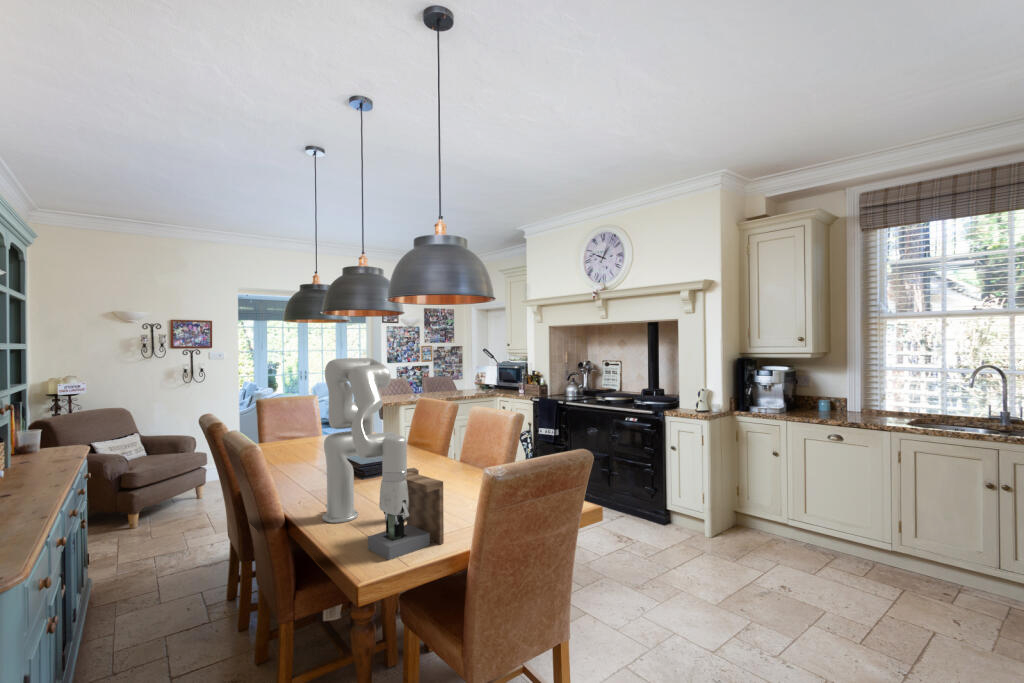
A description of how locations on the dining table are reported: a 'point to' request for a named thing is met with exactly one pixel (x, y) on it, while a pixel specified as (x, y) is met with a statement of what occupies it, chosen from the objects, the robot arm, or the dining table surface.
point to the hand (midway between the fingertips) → (394, 533)
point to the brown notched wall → (426, 505)
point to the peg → (392, 527)
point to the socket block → (399, 542)
